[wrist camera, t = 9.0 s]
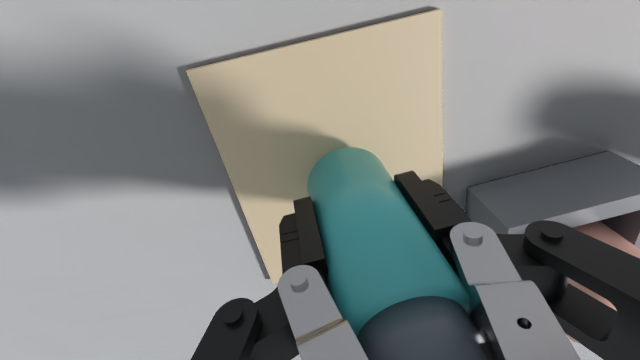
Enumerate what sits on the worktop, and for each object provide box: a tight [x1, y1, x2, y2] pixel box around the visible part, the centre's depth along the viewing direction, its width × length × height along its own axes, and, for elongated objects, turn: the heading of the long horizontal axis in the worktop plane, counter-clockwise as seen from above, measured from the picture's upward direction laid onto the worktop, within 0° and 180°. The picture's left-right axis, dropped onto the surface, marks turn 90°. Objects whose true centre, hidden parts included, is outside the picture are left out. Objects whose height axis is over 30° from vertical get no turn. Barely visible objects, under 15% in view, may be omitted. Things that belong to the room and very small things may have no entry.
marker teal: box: [307, 147, 488, 360], centre depth 11 cm, size 4×4×9 cm
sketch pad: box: [186, 9, 443, 284], centre depth 16 cm, size 12×10×1 cm
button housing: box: [466, 151, 640, 249], centre depth 18 cm, size 8×8×4 cm
